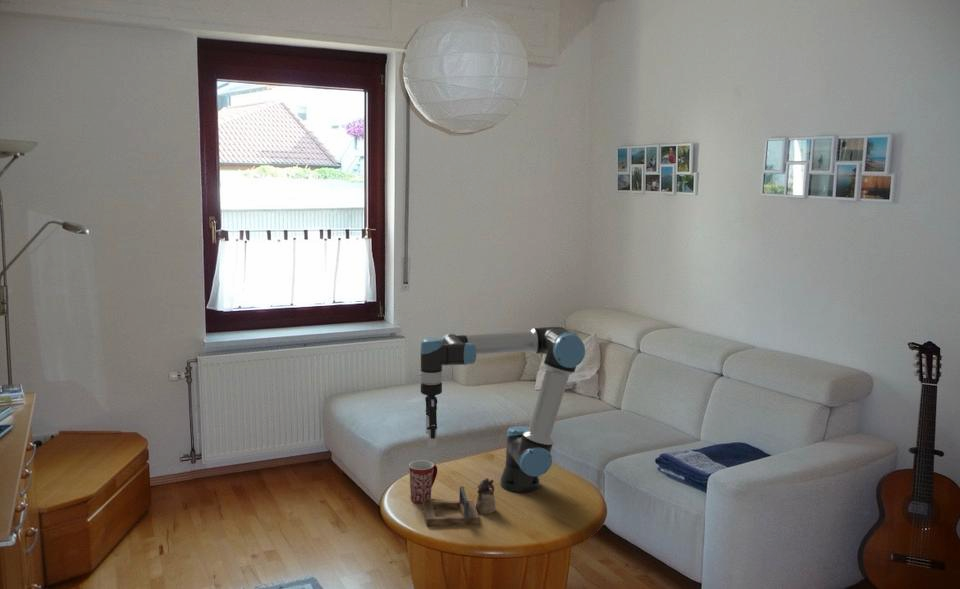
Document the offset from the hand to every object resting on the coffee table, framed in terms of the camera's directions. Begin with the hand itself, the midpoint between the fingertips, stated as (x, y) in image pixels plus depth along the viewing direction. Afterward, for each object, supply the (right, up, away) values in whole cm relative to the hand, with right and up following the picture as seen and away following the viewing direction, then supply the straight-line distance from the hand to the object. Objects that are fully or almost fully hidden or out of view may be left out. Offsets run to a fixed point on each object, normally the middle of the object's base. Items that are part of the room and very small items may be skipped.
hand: (431, 440), depth 283 cm
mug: (-3, -24, +10) cm, 26 cm away
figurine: (+19, -26, +2) cm, 32 cm away
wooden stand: (+7, -26, -4) cm, 27 cm away
